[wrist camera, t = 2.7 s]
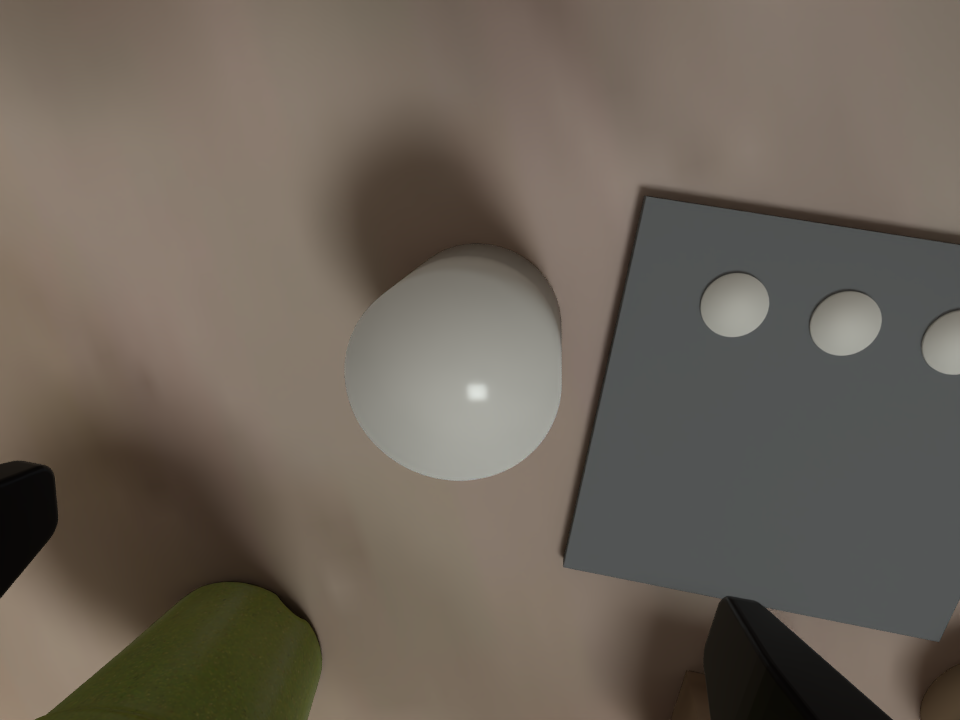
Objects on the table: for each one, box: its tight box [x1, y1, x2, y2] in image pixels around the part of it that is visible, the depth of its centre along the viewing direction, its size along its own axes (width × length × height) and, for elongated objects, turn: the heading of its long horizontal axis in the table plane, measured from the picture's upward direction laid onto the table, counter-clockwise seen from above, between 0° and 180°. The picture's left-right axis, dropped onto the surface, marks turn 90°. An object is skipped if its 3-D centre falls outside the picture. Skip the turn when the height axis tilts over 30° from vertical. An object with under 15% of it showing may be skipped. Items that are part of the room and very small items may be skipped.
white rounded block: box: [345, 243, 562, 481], centre depth 17 cm, size 5×5×5 cm
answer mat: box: [563, 196, 960, 642], centre depth 18 cm, size 12×12×1 cm
